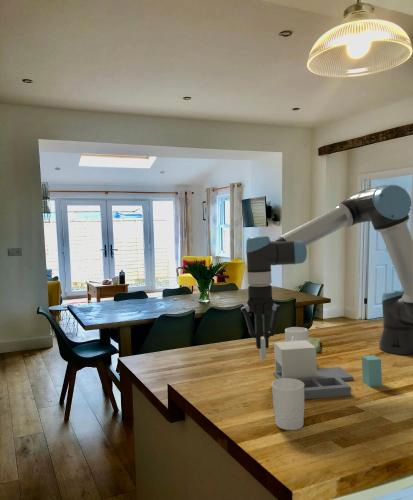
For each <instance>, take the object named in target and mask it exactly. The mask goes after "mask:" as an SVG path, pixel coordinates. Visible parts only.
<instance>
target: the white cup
mask: <svg viewBox="0 0 413 500" xmlns="http://www.w3.org/2000/svg"><path fill="white" fill-rule="evenodd" d="M271 392H272V393H271V394H272V403H273V411H274V420H275V421H274V423H275V425H276V427H278V428H280V430H286V431H297V430H300V429H302V428H303V426H304V416H305V399H304V383H303V382H302V381H300V380H297V379H292V378H282V379H275V380H272V382H271Z"/></svg>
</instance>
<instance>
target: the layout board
mask: <svg viewBox="0 0 413 500" xmlns="http://www.w3.org/2000/svg"><path fill="white" fill-rule="evenodd" d="M281 367H282V366H281ZM330 375H337V376H338V377H339V378H340V379H342V380H343V381H344V382H346V381H354V378H355V377H354V376H353V375H351V374H350V373H349V372H348V371H346V370H344V368H342V367H341V366H334V367H333V366H332V367H331V366H330V367H321V368H320V367H319V368H318V367H317V376H330ZM273 376H274V378H275V380H277V379H282V371H281V372H276V371H273Z"/></svg>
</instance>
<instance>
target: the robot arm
mask: <svg viewBox="0 0 413 500" xmlns="http://www.w3.org/2000/svg"><path fill="white" fill-rule="evenodd" d="M411 207H412V199H411V196H410V194H409V192H408V191H407V190H406V189H405V188H403V187H402V186H399V185H396V184H384V185H380V186H375V187H372V188H368V189H364V190H361V191H358V192H357V193H355V194H353V195H351V196H350V197H347V198H346V199H344V200H342V201H341V202H339V203H337V204H335V206H334V208H333V209H331V210H329V211H327V212H325V213H323V214H322V215H319V216H318V217H316V218H313V219H311V220H310V221H308V222H305V223H304V224H301V225H300V226H297V227H296V228H294V229H291V230H290V231H288V232H286V233H284V234H282V235H280V236H278V237H277V238H274V239H272V240H270V237H269V236H267V235H265V236H250V237H247V239H246V241H245V242H246V244H245V245H246V247H245V253H246V268H247V269H246V270H247V284H248V286H247V290H248V291H247V293H248V295H247V297H248V300H247V302H246V305H244V306H242V307H240V311H241V312H242V313H243V316H244V318H245V321H246V326H247V329H248V333H249V335H250V337H251V338H254V339H255V347H256V349H259V358H260V360H261V361H262V360H263V361H264V360H267V349H269V348H270V347H269V346H270V343H269V341H270V340H269V339H270V337H273V336H275V331H276V328H277V322H278V315H279V313H280V312H281V309H282V307H281V305H279V304H276V303H275V301H274V298H273V286H272V285H271V284H272V282H273V281H272V266H279V265H280V266H283V265H284V266H285V265H300V264H303V263H305V262H306V259H307V256H308V249H307V246H310V245H311V244H313V243H315V242H318V241H319V240H321V239H323V238H325V237H327V236H328V235H330V234H333V233H334V232H337V231H338V230H340V229H342V228H344V227H345V228H349V227H352V226H354V225H356V224H361V223H365V222H366V223H367V222H371V224H372V226H373V230H374V231H375V232H376V231H377V233H378V232H379V233H380V235H381V237H382V240H383V242H384V244H385V247H386V250H387V252H388V255H389V257H390V260H391V262H392V263H391V264H392V265H393V268H394V270H395V272H396V275H397V277H398V280H399V282H400V285H401V287H402V289H401V290H399V289H398V290H388V291H384V292H383V293H382V300H381V304H382V306H381V307H382V321H383V322H382V323H383V324H382V327H383V329H382V332H381V336H380V338H379V343H378V346H379V350H381V351H383V352H385V353H388V354H389V353H390V354H396V355H413V238H412V235H411V232H410V230H409V226H408V224H407V223H408V222H409V220H410V215H409V214H410V212H411V210H412V208H411ZM271 309H272V313H271V319H270V323H269V312H270V311H271ZM250 310H251V312H252V313H253V315H254V326H253V323H252V320H251V317H250V314H249V312H250ZM261 317H262V331H261ZM261 332H262V334H261ZM261 335H262V336H261Z"/></svg>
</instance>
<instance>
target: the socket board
mask: <svg viewBox="0 0 413 500" xmlns="http://www.w3.org/2000/svg"><path fill="white" fill-rule="evenodd" d="M292 379H297V380H300V381H302V382H303V383H304V400H309V399H324V398H333V397H345V396H352V387H351V386H350V385H349V384H348V383H347V382H346V381H343V380H342V379H340V378H339V377H338V376H337V375H330V376H317V377H305V378H292Z"/></svg>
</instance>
